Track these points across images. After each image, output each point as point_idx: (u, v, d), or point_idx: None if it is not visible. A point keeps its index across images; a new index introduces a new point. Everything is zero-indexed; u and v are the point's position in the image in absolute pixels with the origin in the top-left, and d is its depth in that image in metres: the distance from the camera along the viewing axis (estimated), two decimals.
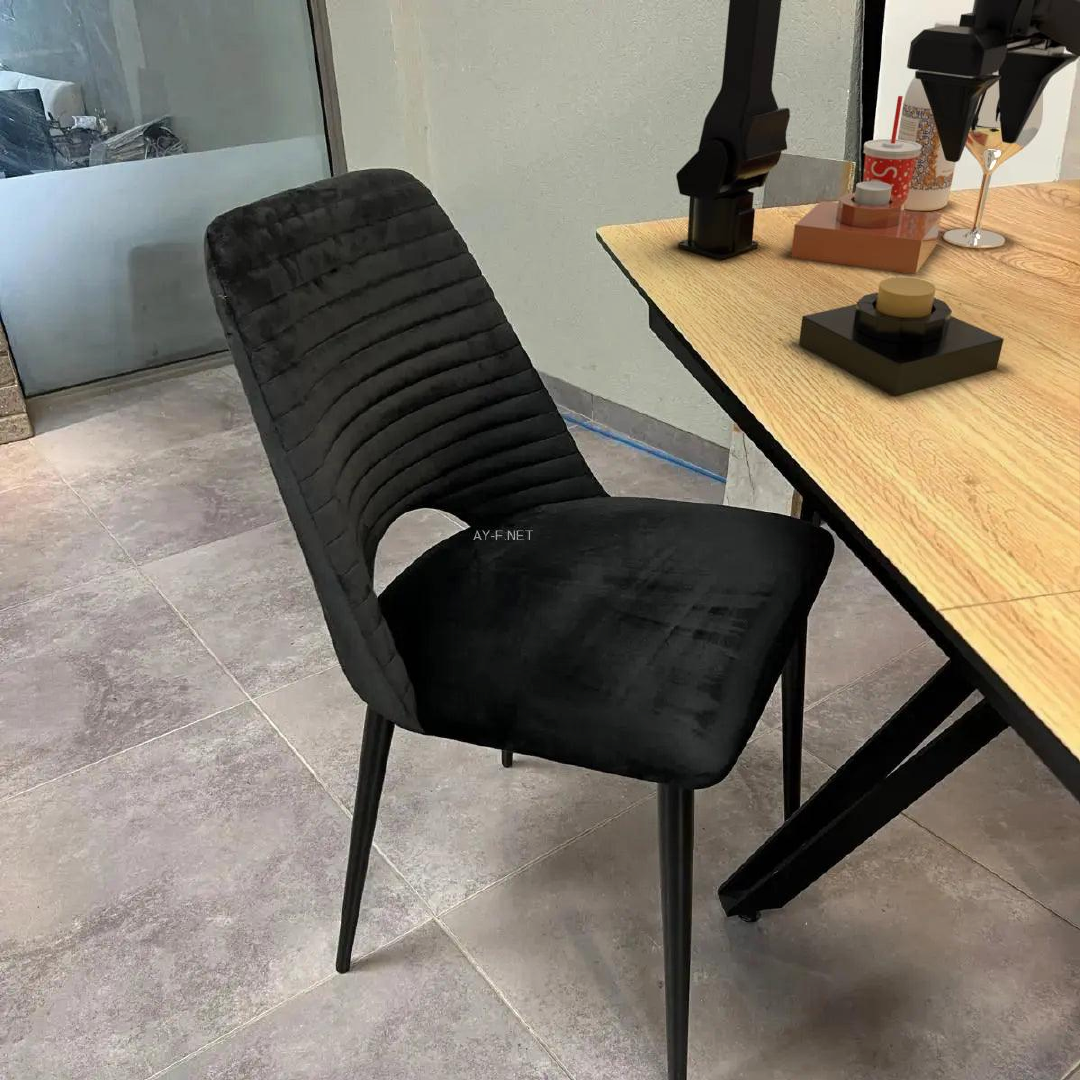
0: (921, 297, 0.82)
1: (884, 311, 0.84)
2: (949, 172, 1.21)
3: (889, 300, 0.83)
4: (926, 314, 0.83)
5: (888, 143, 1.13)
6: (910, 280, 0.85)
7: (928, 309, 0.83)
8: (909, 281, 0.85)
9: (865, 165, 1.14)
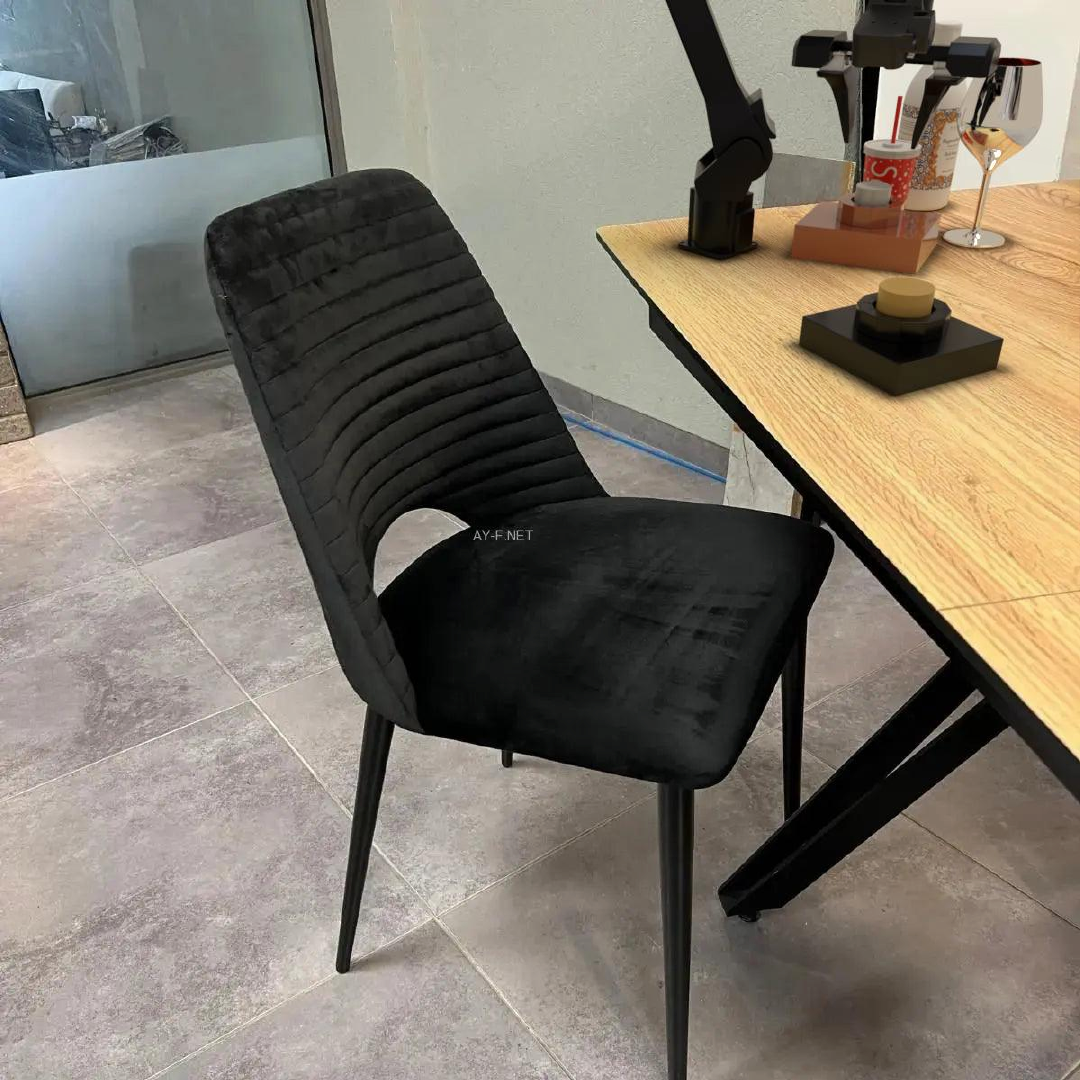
0: (921, 297, 0.82)
1: (884, 311, 0.84)
2: (949, 172, 1.21)
3: (889, 300, 0.83)
4: (926, 314, 0.83)
5: (888, 143, 1.13)
6: (910, 280, 0.85)
7: (928, 309, 0.83)
8: (909, 281, 0.85)
9: (865, 165, 1.14)
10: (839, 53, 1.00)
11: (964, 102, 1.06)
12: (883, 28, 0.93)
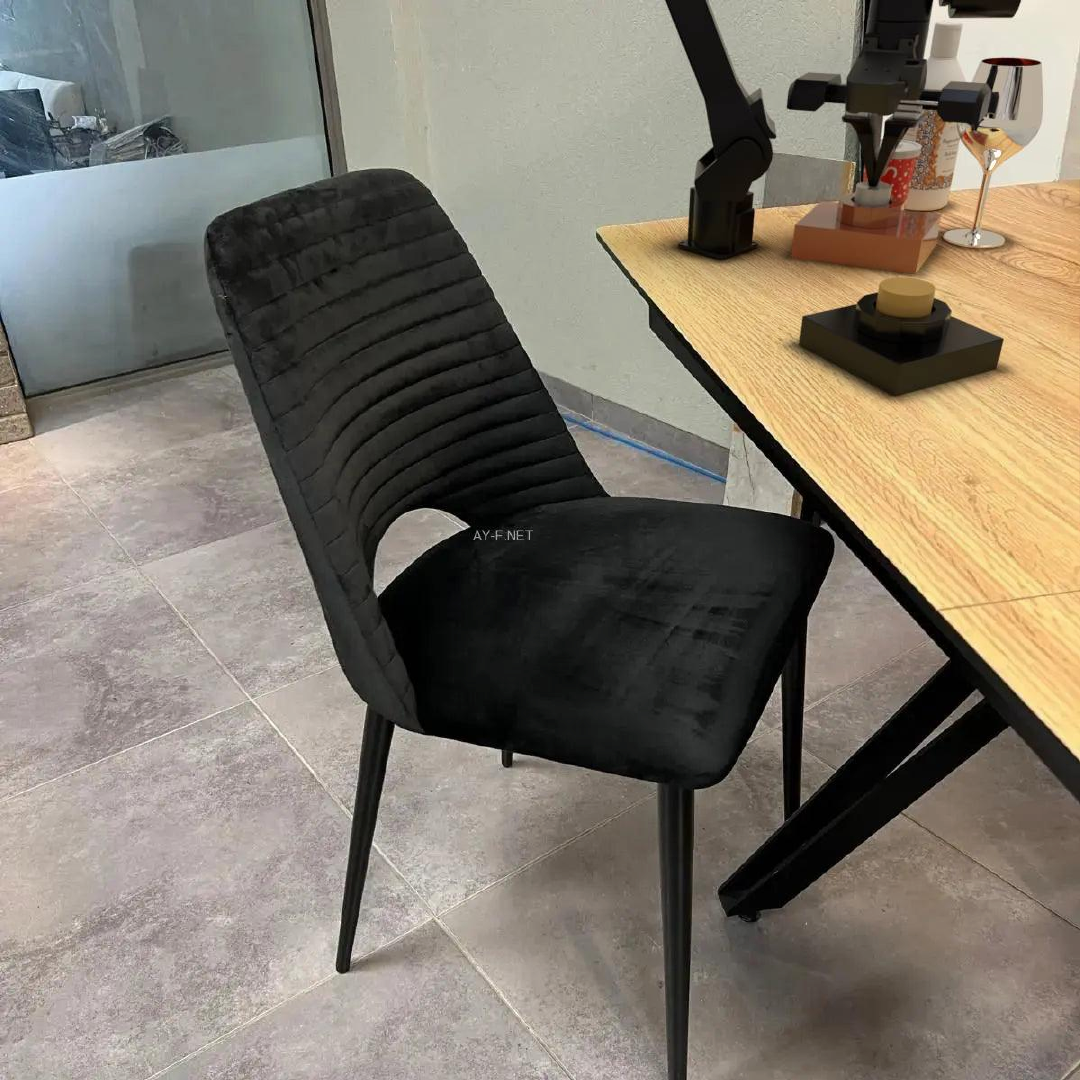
0: (921, 297, 0.82)
1: (884, 311, 0.84)
2: (949, 172, 1.21)
3: (889, 300, 0.83)
4: (926, 314, 0.83)
5: None
6: (910, 280, 0.85)
7: (928, 309, 0.83)
8: (909, 281, 0.85)
9: None
10: None
11: None
12: (876, 76, 0.95)
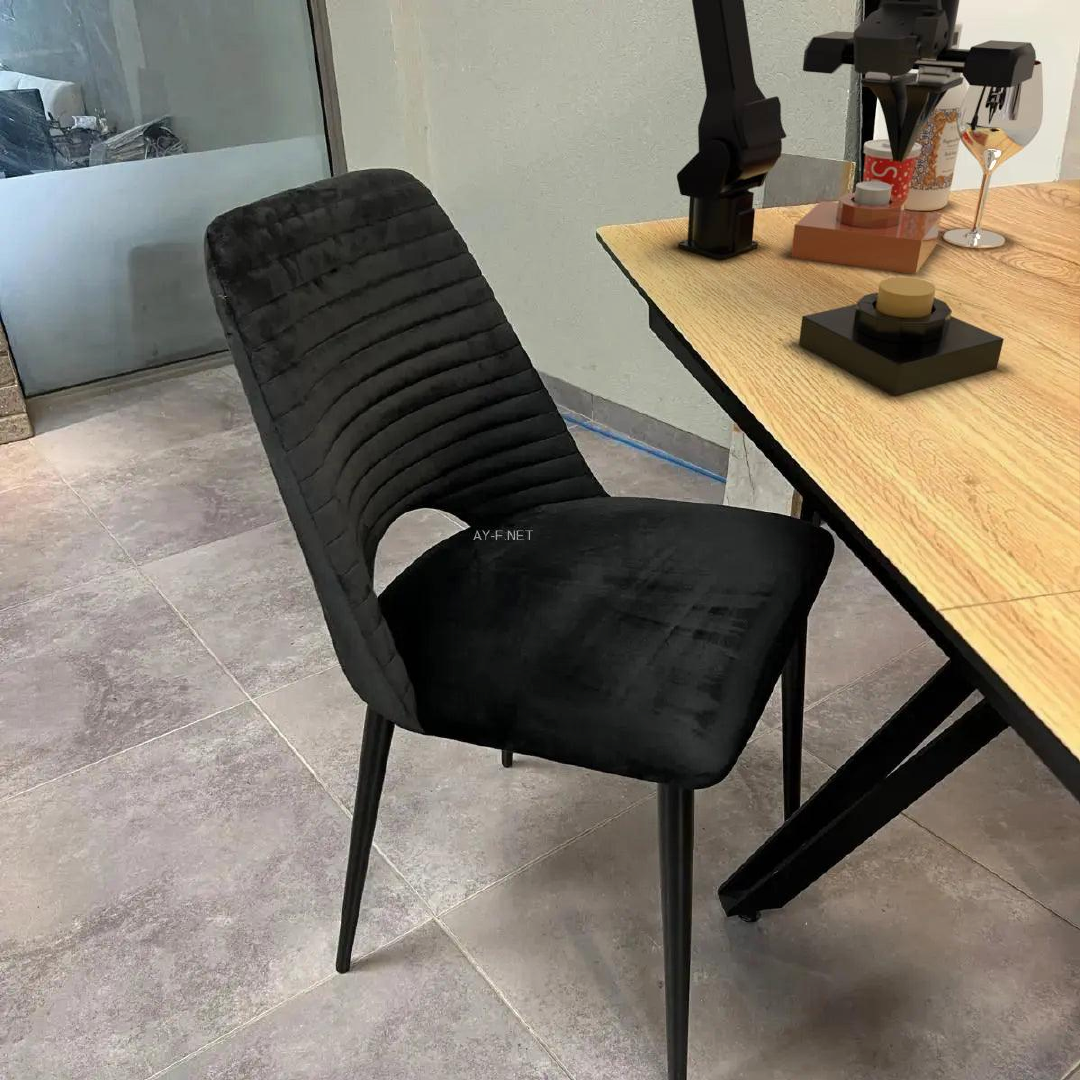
0: (921, 297, 0.82)
1: (884, 311, 0.84)
2: (949, 172, 1.21)
3: (889, 300, 0.83)
4: (926, 314, 0.83)
5: (888, 143, 1.13)
6: (910, 280, 0.85)
7: (928, 309, 0.83)
8: (909, 281, 0.85)
9: (865, 165, 1.14)
10: None
11: (964, 102, 1.06)
12: (886, 30, 0.83)
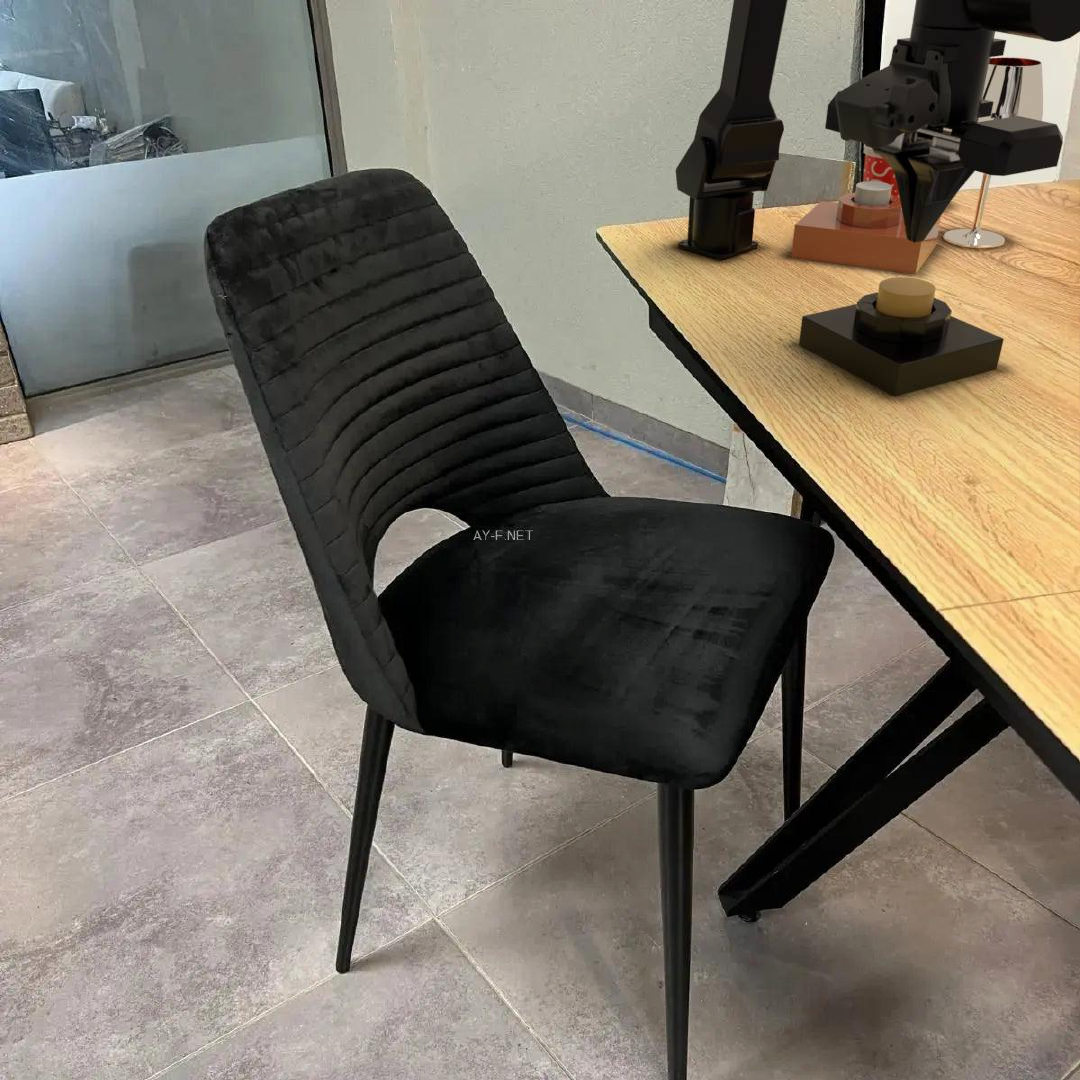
0: (921, 297, 0.82)
1: (884, 311, 0.84)
2: None
3: (889, 300, 0.83)
4: (926, 314, 0.83)
5: None
6: (910, 280, 0.85)
7: (928, 309, 0.83)
8: (909, 281, 0.85)
9: (865, 165, 1.14)
10: None
11: None
12: (867, 95, 0.73)
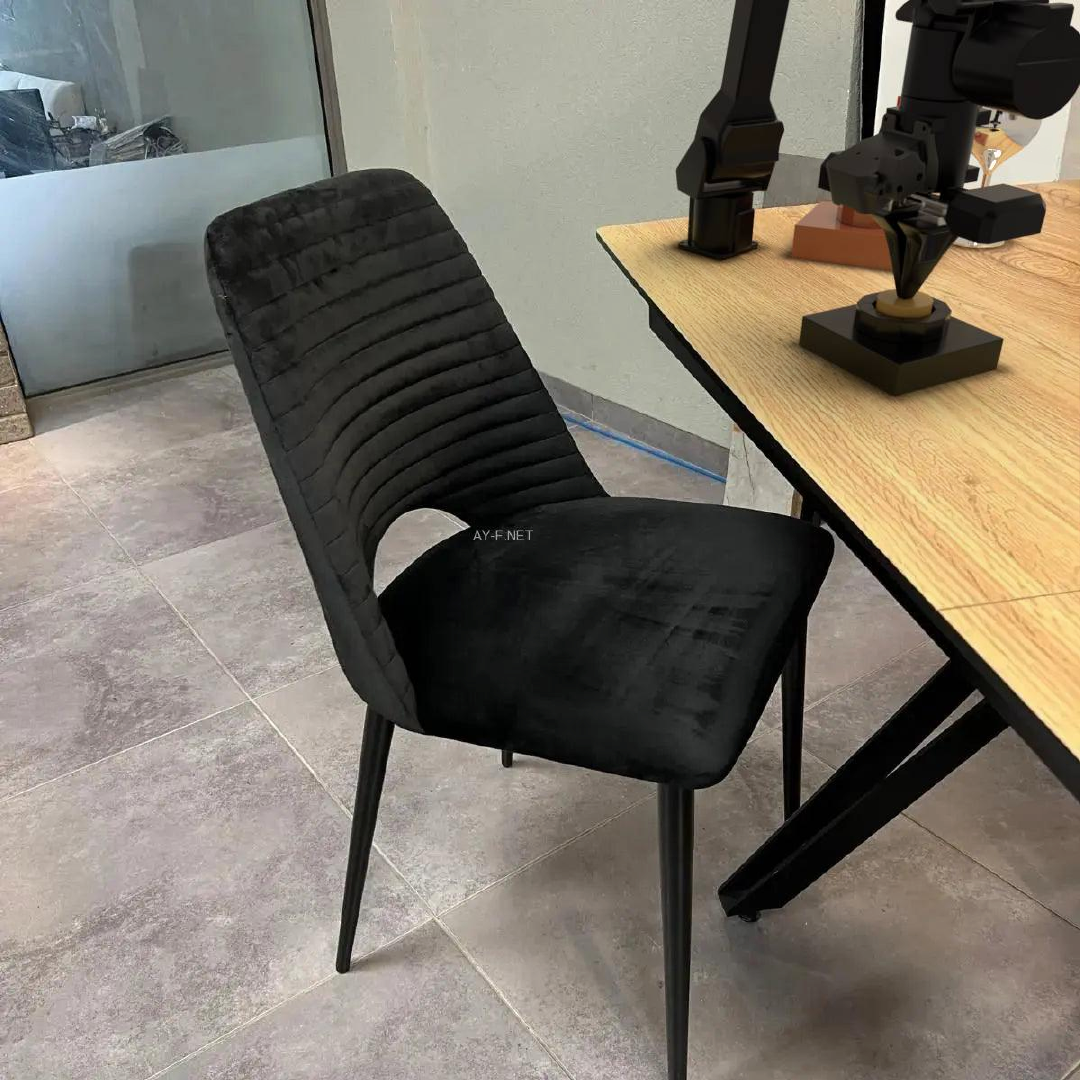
0: (919, 309, 0.83)
1: None
2: None
3: (887, 311, 0.84)
4: None
5: None
6: None
7: None
8: None
9: None
10: None
11: None
12: (858, 163, 0.75)
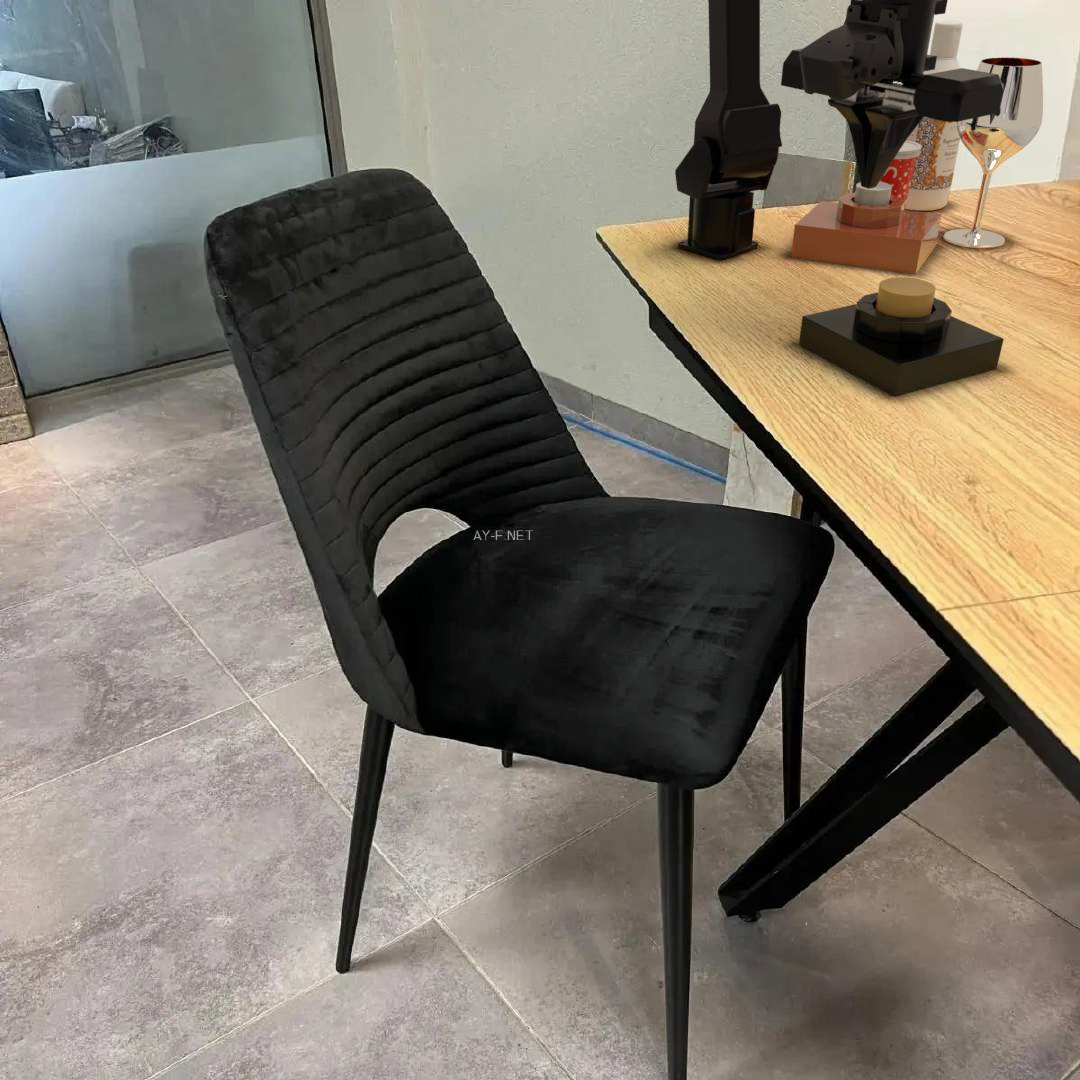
0: (921, 297, 0.82)
1: (884, 311, 0.84)
2: (949, 172, 1.21)
3: (889, 300, 0.83)
4: (926, 314, 0.83)
5: None
6: (910, 280, 0.85)
7: (928, 309, 0.83)
8: (909, 281, 0.85)
9: None
10: None
11: None
12: (830, 50, 0.79)
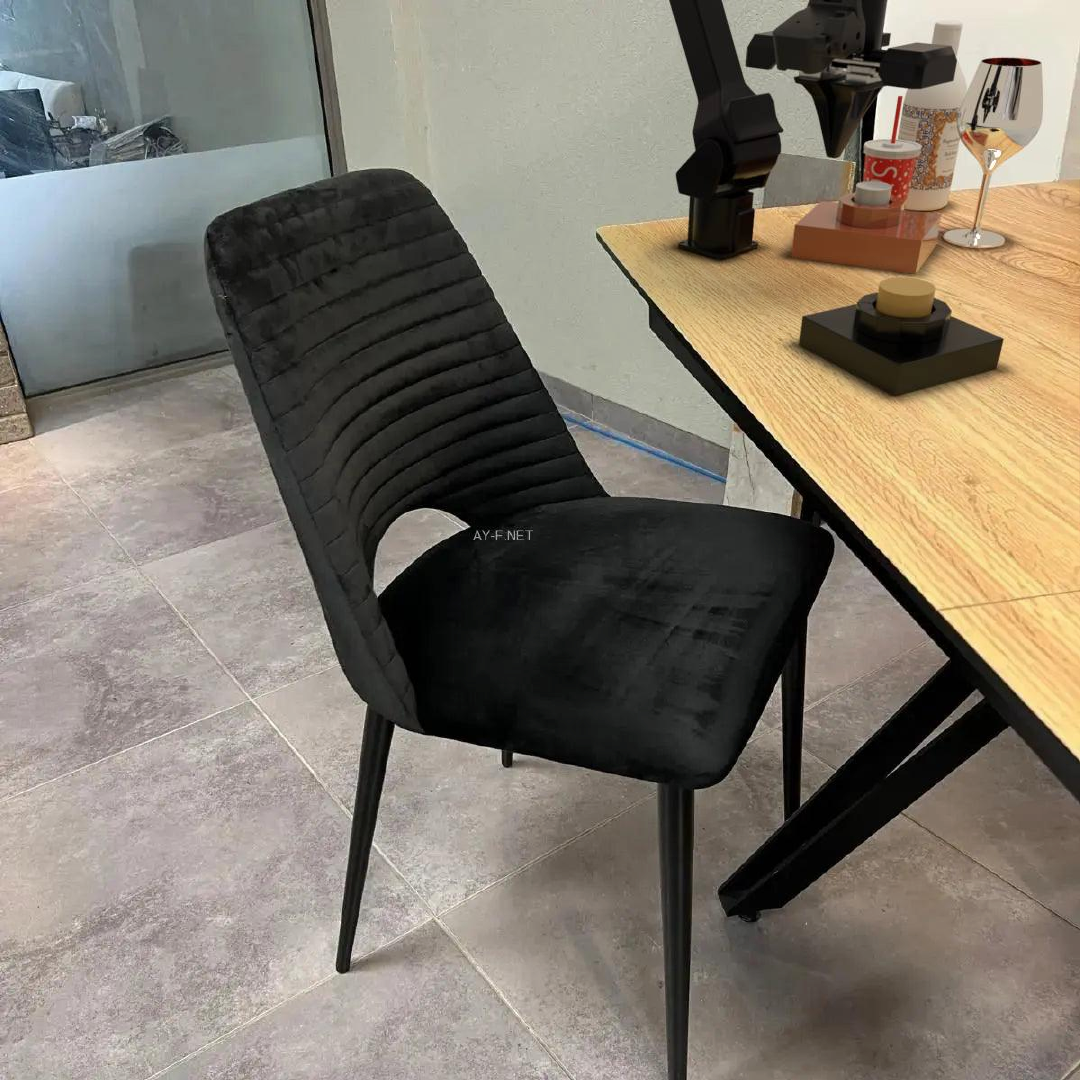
0: (921, 297, 0.82)
1: (884, 311, 0.84)
2: (949, 172, 1.21)
3: (889, 300, 0.83)
4: (926, 314, 0.83)
5: (888, 143, 1.13)
6: (910, 280, 0.85)
7: (928, 309, 0.83)
8: (909, 281, 0.85)
9: (865, 165, 1.14)
10: None
11: (964, 102, 1.06)
12: (802, 29, 0.86)
